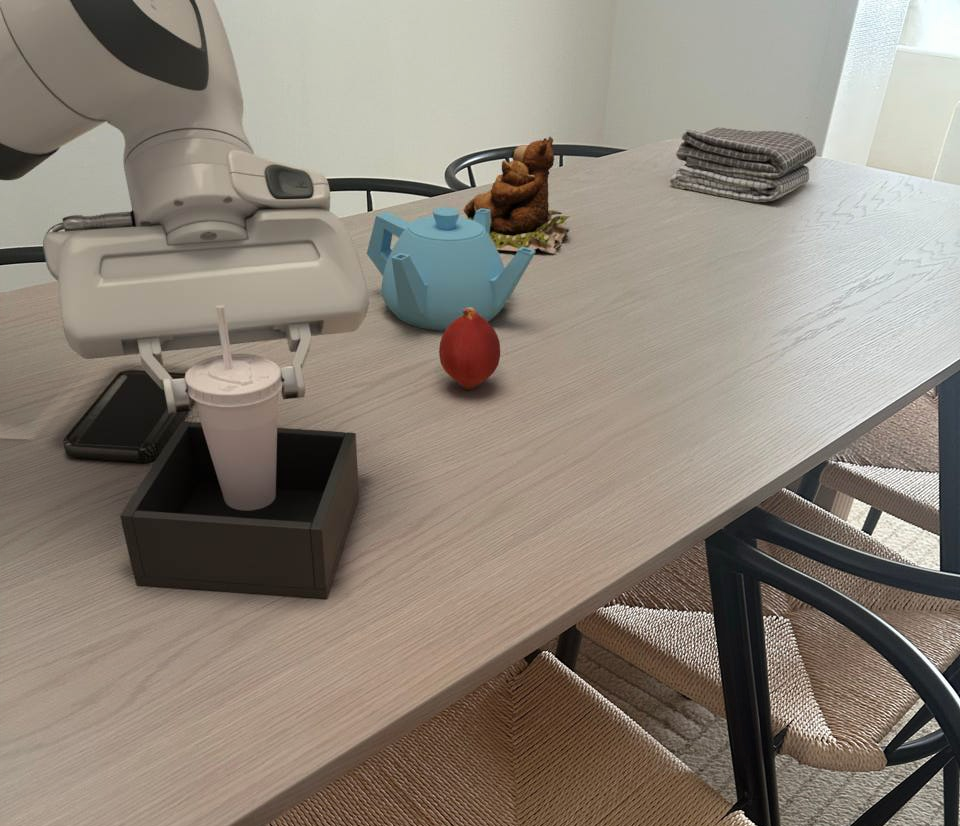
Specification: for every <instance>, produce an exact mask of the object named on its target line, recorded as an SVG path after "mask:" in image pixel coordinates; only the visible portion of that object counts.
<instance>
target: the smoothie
mask: <svg viewBox="0 0 960 826" xmlns="http://www.w3.org/2000/svg"><path fill="white" fill-rule="evenodd" d="M216 313H217V319H218V326H219V333H220V340H221V345H220V347H221V354H219V355H215V356H212V357H208V358H205V359H202V360H200V361H198V362H196V363H194V364H193V365H192V366H190V367H189V368H188V369H187V371H186V372H185V373H186V374H185V380H186V385H187V393H188V395H189V396H190V397H191V398H192V399H193V400H194V402H193V403H194V405H195V409H196V413H197V415H198V420H199V422H200V423H201V425H202V428H203V432H204V435H205V438H206V441H207V445H208V448H209V451H210V455H211V458H212V461H213V464H214V468H215V471H216V474H217V477H218V481H219V484H220V487H221V490H222V494H223V497H224V500H225V503H226V504H227V505H228V506H230V507H231V508H234V509H237V510H245V511H249V510H257V509H261V508H264V507H266V506H268V505H270V504H271V503H272V502H273V501H274V500H275V497H276V458H277V428H278V415H279V414H278V412H279V392H281V391H282V385H283V382H282V380H281V371H280V368H281V367H279V365H278V364H277V363H276V362H275V361H273V360H271V359H269V358H267V357H263V356H260V355H256V354H249V353H232V352H231V344H230V343H229V336H228V328H227V321H226V314H225V307H224V305H217V306H216Z"/></svg>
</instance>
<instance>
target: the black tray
mask: <svg viewBox="0 0 960 826" xmlns="http://www.w3.org/2000/svg"><path fill="white" fill-rule="evenodd" d="M357 448H358V447H357V433H356V432H348V431H347V432H346V431H332V430H320V429H319V430H318V429H303V428H289V427H288V428H287V427H277V458H276V497H275V500H274V501H273V502H272V503H271V504H270V505H268V506H266V507H264V508H261V509H257V510H249V511H245V510H237V509H234V508H231V507H230V506H228V505H227V504H226V503H225V500H224V497H223V494H222V490H221V487H220V484H219V481H218V477H217V474H216V471H215V468H214V464H213V461H212V458H211V455H210V451H209V448H208V445H207V441H206V438H205V435H204V432H203V428H202V425H201V422H200V421H199V422H197V421H185V420H181V422H180V423H179V425H178V426H177V428H176V429H175V431H174V432H173V434H172V435H171V437H170V438H169V440H168V441H167V443H166V444H165V446H164V447H163V449H162V450H161V452H160V453H159V455H158V456H157V457H156V459H155V461H154V462H153V464H152V465H151V467H150V468H149V470H148V471H147V473H146V475H145V476H144V478H143V480H142V481H141V483H139V486H138V487H137V489H136V490H135V492H134V493H133V495H132V496H131V497H130V500H129V501H128V503H127V504H126V506H125V507H124V509H123V510H122V512H121V513H120V515H119V517H120V518H119V519H120V521H121V526H122V530H123V534H124V539H125V543H126V548H127V553H128V556H129V561H130V565H131V569H132V574H133V578H134V581H135V585H137V586H144V587H145V586H146V587H159V588H160V587H161V588H171V589H172V588H173V589H185V590H186V589H188V590H200V591H215V592H228V593H229V592H230V593H244V594H255V595H270V596H271V595H272V596H284V597H285V596H286V597H297V598H298V597H299V598H311V599H312V598H313V599H325V600H326V599H328V597H329V593H330V590H331V588H332V584H333V581H334V577H335V574H336V571H337V568H338V566H339V561H340V558H341V556H342V552H343V549H344V546H345V543H346V539H347V536H348V533H349V530H350V526H351V524H352V520H353V518H354V517H353V516H354V514H355V511H356V508H357V504H358V502H359V497H360V492H359V471H358V470H359V469H358V455H357V454H358V452H357V451H358V450H357Z"/></svg>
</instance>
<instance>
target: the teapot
mask: <svg viewBox="0 0 960 826" xmlns="http://www.w3.org/2000/svg"><path fill="white" fill-rule="evenodd" d="M490 215H491V210H488V209H482V208H481V209H479V210H477V211H476V212H475V216H474V219H473V220H470V219H467V218H468V217H461V216H460V210H458V209H456V208H454V207H450V206H449V207H447V206H443V207H437V208H435V209H432V215H431V216H430V215H429V216H424V217H420V218H417V219H414V220H412V221H411V222H409V221H407V220H405V219H402V218H400V217H399V216H396V215H395V214H393V213H390V212H389V211H384V212H382V213H379V214H377V215H375V219H374V223H373V227H372V231H371V234H370V239H369V242H368V246H367V250H366V255H367V257H368V258H369V259H370V260H371V262H372V263H373V265H374V266H375V267H376V269H377V270H378V272H380V274H381V275H382V281H381V296H382V299H383V302H384V303H385V305H386V306H387V307H388V308H389V310H390V311H391V312H392V313H393V314H394V315H395V316H396V317H397V318H398V319H399V320H400V321H402V322H404V323H405V324H408V325H411V326H413V327H417V328H420V329H426V330H433V331H442V332H443V331H444V332H445V330H446V329H447V328H448V326H449V325H450V324H451V323H452V322H453V321H454V320H456V319H457V318H459V317H461V316H463V314H464V313H463V311H464V310H465V309H466V308H468V307H470V308H471V307H472V308H473V309H475V310H476V312H477V313H478V315H479V316H481V317H483V318H484V319H485V320H486V321H487V322H488V323H489V322H491V321H492V320H493V319H494V318H495V317H496V316H497V315H498V314H499V313H500V312H501V311H502V309H503V308H504V307H505V306H506V304H507V301H509V299H510V298H511V296H512V294H513V293H514V291H515V289H516V288H517V286H518V284H519V282H520V281H521V279H522V277H523V275H524V274H525V272H526V270H527V269H528V267H529V264H530V263H531V262H532V260H533V258H534V256H535V254H536V249H535V250H532V249H529V248H525V247H521V248H519V249H518V251H516V253H515V254H514V256H513V257H512V258H511V260H509V262H508V263H507V264H506V266H504V263H503V259H502V257H501V255H500V253H499V250H497V249H496V247H495V245H494V243H493V241H492V239H491V238H490ZM393 235H394V236H395V237H396V238H398V239H397V241H396V243H395V244H394V246H393V248H392V247H391V246H392V239H393Z"/></svg>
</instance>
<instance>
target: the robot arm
mask: <svg viewBox="0 0 960 826" xmlns="http://www.w3.org/2000/svg"><path fill="white" fill-rule="evenodd" d="M243 117H244V97H243V92H242V88H241V82H240V79H239V74H238V69H237V65H236V62H235V58H234V54H233V51H232V47H231V43H230V41H229V37H228V34H227V31H226V29H225V26H224V23H223V20H222V17H221V14H220V12H219V10H218V7H217V5H216V2H215V0H0V181H14V180H18V179H21V178H22V177H24V176H26V175H27V174H28V173H30V172H31V171H32V170H34V169H35V168H37V167H38V166H39V165H40V164H42V163H43V162H45V161H46V160H47V159H49V158H50V157H52V156H53V155H54V154H55V153H57V152H58V151H59V150H60V148H61V147H63V146H65V145H66V144H68V143H70V142H72V141H74V140H75V139H78V138H79V137H81V136H83V135H85V134H86V133H88V132H90V131H92V130H94V129H95V128H97V127H100V126H101V125H103V124H105V123H107V124H108V125H110V126H112V127H113V128H116V129H117V130H119V132H121V134H122V135H123V140H124V150H123V158H122V160H123V162H122V163H123V171H124V177H125V180H126V186H127V191H128V195H129V196H128V197H129V201H130V206H131V211H119V212H118V211H117V212H107V213H101V214H95V215H84V214H83V215H82V214H73V215H68V216H64V217H62V218H61V219H62V220H61V221H62V222H59V223H57V224H54V225H52V226H51V227H50V228H49V229H48V230H47V231H46V233H45V235H44V236H43V241H42V249H43V254H44V259H45V263H46V264H45V265H46V267H47V270H48V272H49V274H50V275H51V276H52V277H53V278H54V279H55V280H56V281H57V283H58V299H59V309H60V317H61V324H62V330H63V333H64V336H65V340H66V343H67V344H68V346H69V348H70V349H71V350H72V351H74V353H76V354H77V355H78V356H80V357H81V358H82V359H85V360H91V359H92V360H94V359H102V358H103V359H104V358H112V357H122V356H131V355H132V356H133V355H139V356H140V361H141V366H142V370H145V371H146V372H147V374H148V375H149V376H150V377H151V378H152V379H153V380H154V381H155V382H156V384H157V385H158V386H159V387H160V388H161V389H162V390H164V392H165V397H166V402H167V407H168V412H169V413H176V412H185V411H187V412H191V411H192V410H191V409H192V408H191V407H192V405H191V406H190V400H189V395H188V393H187V385H186V380H185V378H181V379H172V377H171V376H170V375H169V374H168V373H167V372H168V371H167V370H166V369H165V368H164V367H163V366H164V360H163V359H164V358H163V353H162V352H170V351H179V350H190V349H200V348H210V347H219V346H220V347H221V340H220V333H219V326H218V319H217V313H216V306H217V305H224V307H225V314H226V321H227V328H228V336H229V343H230V345H239V344H249V343H259V342H267V341H278V340H279V341H280V340H286V341H287V345H288V350H289V352H290V353H295V354H294V356H293V360H292V363H291V365H289V366H282V367H279V368H280V371H281V380H282V382H283V385H282V389H281V390H280V392H281V397H282V400H289V399H291V400H292V399H301V398H305V395H306V383H305V378H304V374H303V373H304V372H303V368H304V366H305V364H306V363H305V362H306V361H307V358H308V355H309V353H310V348H311V344H312V339H313V338H312V337H318V336H326V335H328V336H329V335H336V334H347V333H353V332H356V331H357V330H358V329H360V327H361V325H362V323H363V322H364V320H365V318H366V317H367V314H368V311H369V305H370V297H369V296H370V295H369V291H368V286H367V282H366V278H365V274H364V271H363V267H362V264H361V261H360V258H359V256H358V255H359V254H358V251H357V249H356V246H355V244H354V241H353V238H352V236H351V234H350V231H349V230H348V227H347V226H346V224H345V223H344V222H343V221H342V219H341V218H340V217H339V216H338V215H336V214H335V213H333V212H331V190H330V185H329V181H328V179H327V178H326V176H325V175H324V174H322V173H321V172H318V171H316V170H311V169H308V168H303V167H299V166H295V165H290V164H287V163H282V162H279V161H276V160H272V159H269V158H265V157H262V156H259V155H256V154H255V152H254V149H253V146H252V145H251V142H250V141H249V139H248V137H247V135H246V133H245V130H244V125H243ZM62 230H63V231H62Z"/></svg>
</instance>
